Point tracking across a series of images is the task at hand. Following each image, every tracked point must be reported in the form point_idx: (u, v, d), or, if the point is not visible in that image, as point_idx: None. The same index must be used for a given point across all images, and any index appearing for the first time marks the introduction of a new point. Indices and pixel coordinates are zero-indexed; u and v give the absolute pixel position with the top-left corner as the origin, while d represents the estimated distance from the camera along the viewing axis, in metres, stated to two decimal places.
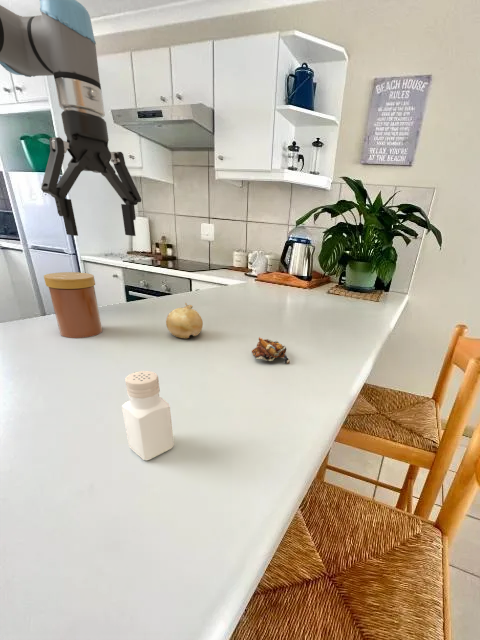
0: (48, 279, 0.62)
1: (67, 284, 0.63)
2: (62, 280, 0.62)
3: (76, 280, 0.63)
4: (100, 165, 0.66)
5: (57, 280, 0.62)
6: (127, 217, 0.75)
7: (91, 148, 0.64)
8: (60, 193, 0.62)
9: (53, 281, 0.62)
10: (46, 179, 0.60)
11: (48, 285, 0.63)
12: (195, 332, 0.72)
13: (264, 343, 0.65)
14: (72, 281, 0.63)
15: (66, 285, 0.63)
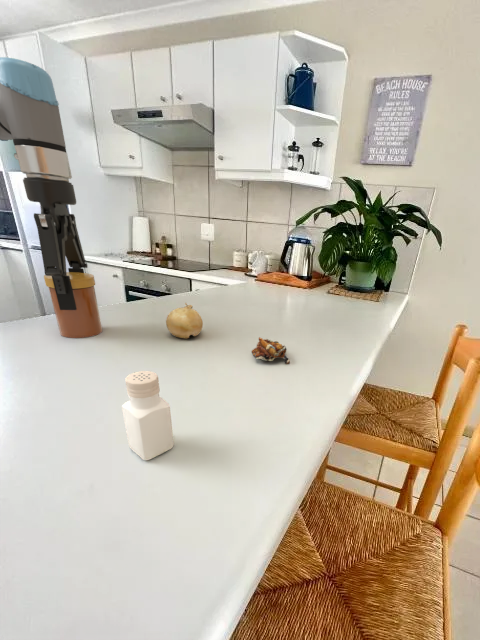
0: (48, 279, 0.62)
1: None
2: None
3: (76, 280, 0.63)
4: None
5: None
6: None
7: None
8: None
9: None
10: None
11: (48, 285, 0.63)
12: (195, 332, 0.72)
13: (264, 343, 0.65)
14: (72, 281, 0.63)
15: None
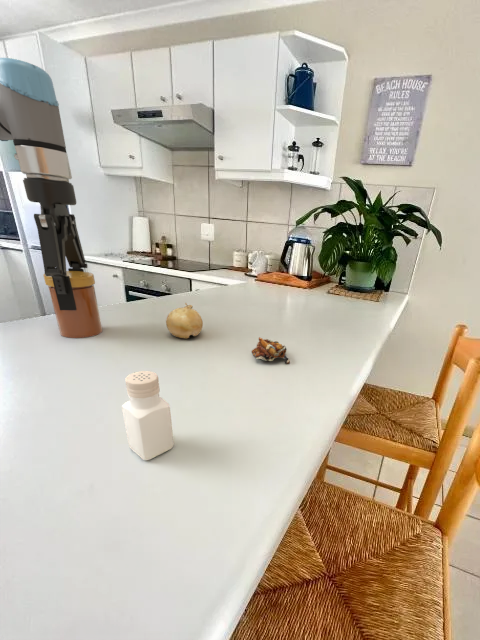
0: (84, 278, 0.64)
1: None
2: (92, 276, 0.67)
3: None
4: None
5: (91, 277, 0.66)
6: None
7: None
8: None
9: (89, 279, 0.66)
10: None
11: (83, 285, 0.65)
12: (195, 332, 0.72)
13: (264, 343, 0.65)
14: None
15: (94, 280, 0.68)
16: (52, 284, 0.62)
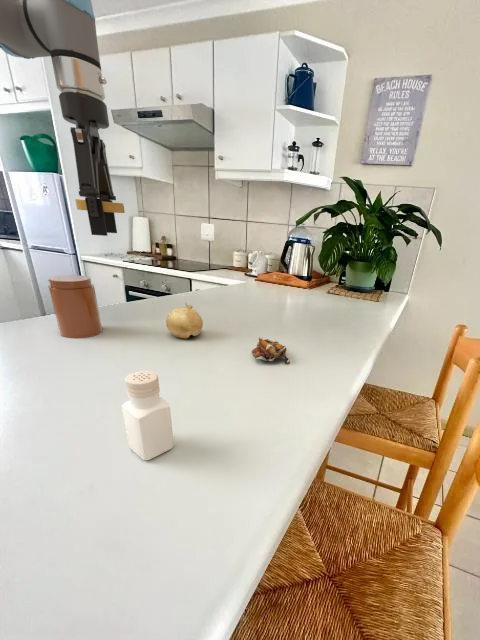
0: None
1: (76, 204, 0.65)
2: None
3: (76, 200, 0.63)
4: None
5: None
6: (108, 213, 0.71)
7: (95, 134, 0.61)
8: (97, 194, 0.61)
9: None
10: (84, 178, 0.58)
11: None
12: (195, 332, 0.72)
13: (264, 343, 0.65)
14: None
15: (76, 205, 0.65)
16: None
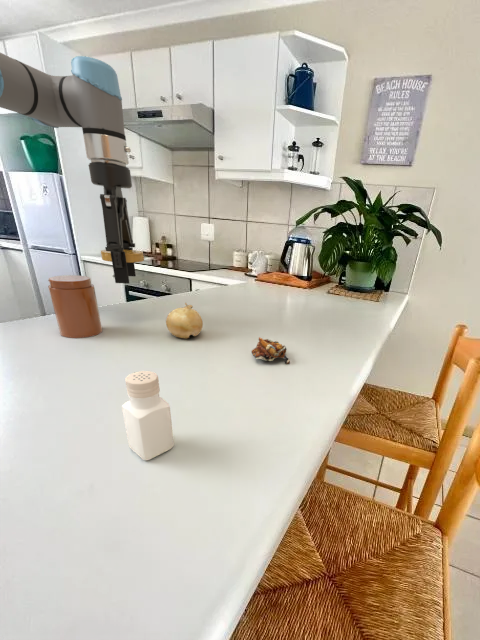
0: None
1: (101, 255, 0.71)
2: None
3: (102, 252, 0.70)
4: None
5: None
6: None
7: (119, 195, 0.68)
8: (122, 248, 0.68)
9: None
10: (111, 237, 0.65)
11: None
12: (195, 332, 0.72)
13: (264, 343, 0.65)
14: (101, 253, 0.71)
15: None
16: None
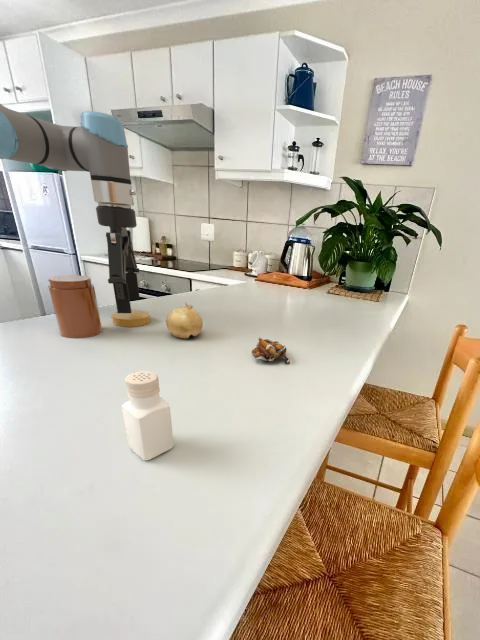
0: None
1: (112, 319, 0.78)
2: None
3: (113, 318, 0.77)
4: None
5: None
6: (132, 284, 0.82)
7: (124, 234, 0.71)
8: (124, 280, 0.69)
9: None
10: (114, 270, 0.66)
11: None
12: (195, 332, 0.72)
13: (264, 343, 0.65)
14: (112, 317, 0.77)
15: (112, 319, 0.78)
16: None
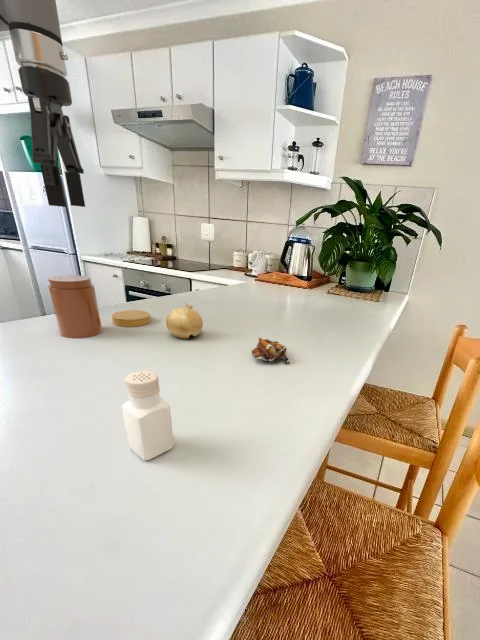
0: None
1: (112, 319, 0.78)
2: None
3: (113, 318, 0.77)
4: (62, 130, 0.63)
5: None
6: (75, 186, 0.72)
7: (57, 111, 0.61)
8: (53, 160, 0.58)
9: None
10: (39, 144, 0.56)
11: None
12: (195, 332, 0.72)
13: (264, 343, 0.65)
14: (112, 317, 0.77)
15: (112, 319, 0.78)
16: None
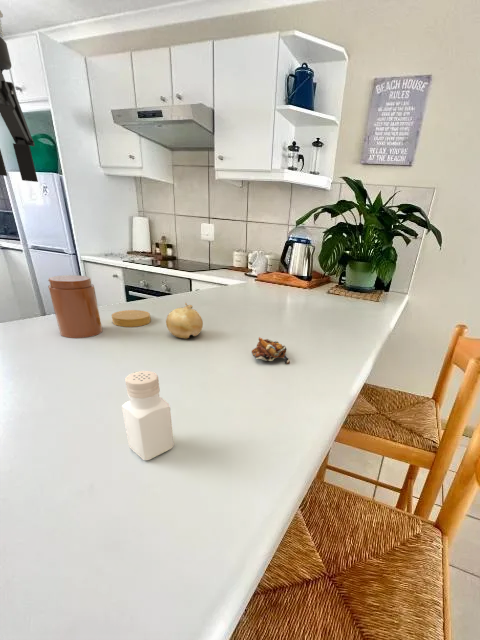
0: None
1: (112, 319, 0.78)
2: None
3: (113, 318, 0.77)
4: (3, 95, 0.60)
5: None
6: (25, 159, 0.68)
7: None
8: None
9: None
10: None
11: None
12: (195, 332, 0.72)
13: (264, 343, 0.65)
14: (112, 317, 0.77)
15: (112, 319, 0.78)
16: None
